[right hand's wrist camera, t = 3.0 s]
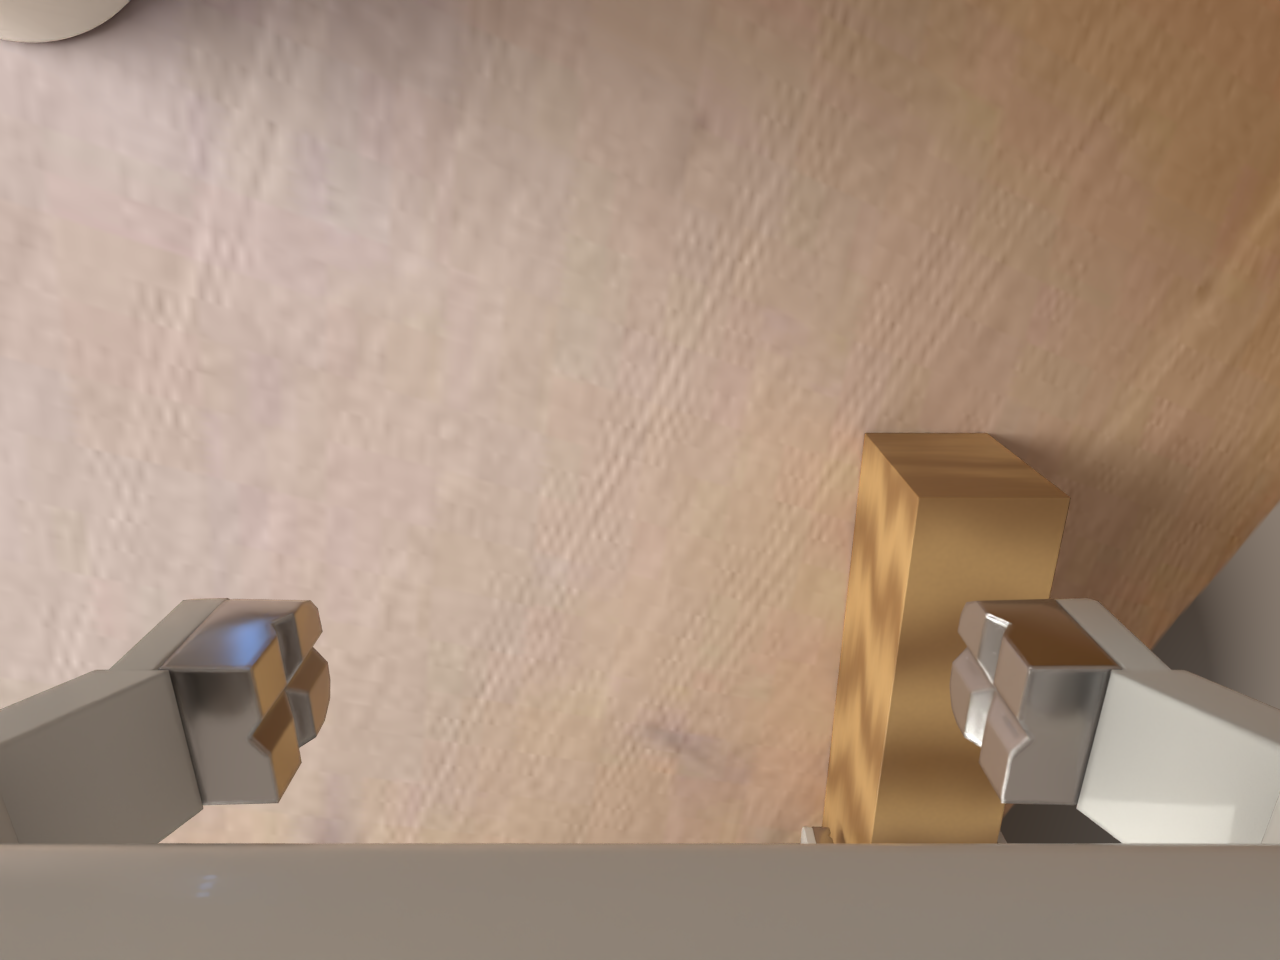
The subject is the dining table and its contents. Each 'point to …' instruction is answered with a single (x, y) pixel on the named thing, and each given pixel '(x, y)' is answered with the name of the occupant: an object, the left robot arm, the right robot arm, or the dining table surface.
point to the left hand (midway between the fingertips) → (897, 835)
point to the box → (927, 629)
